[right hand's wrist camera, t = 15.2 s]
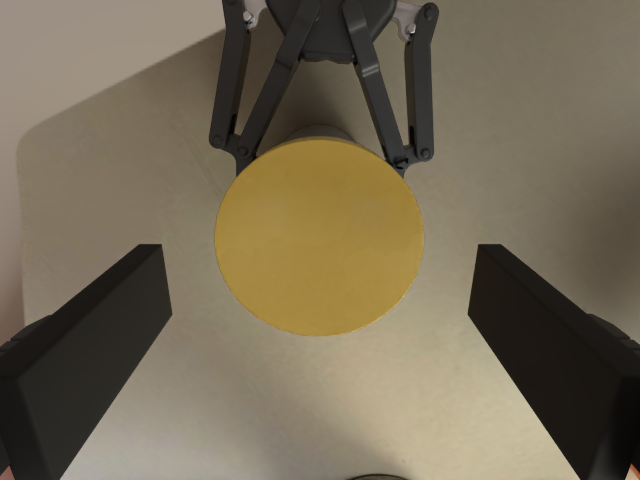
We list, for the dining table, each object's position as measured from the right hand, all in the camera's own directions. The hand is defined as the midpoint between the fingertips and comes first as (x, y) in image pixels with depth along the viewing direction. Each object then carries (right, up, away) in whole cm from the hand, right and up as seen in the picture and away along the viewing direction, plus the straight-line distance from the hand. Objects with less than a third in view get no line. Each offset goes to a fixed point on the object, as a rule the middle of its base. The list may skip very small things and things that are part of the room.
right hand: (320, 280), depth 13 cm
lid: (0, +1, +4) cm, 4 cm away
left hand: (0, +1, +17) cm, 17 cm away
